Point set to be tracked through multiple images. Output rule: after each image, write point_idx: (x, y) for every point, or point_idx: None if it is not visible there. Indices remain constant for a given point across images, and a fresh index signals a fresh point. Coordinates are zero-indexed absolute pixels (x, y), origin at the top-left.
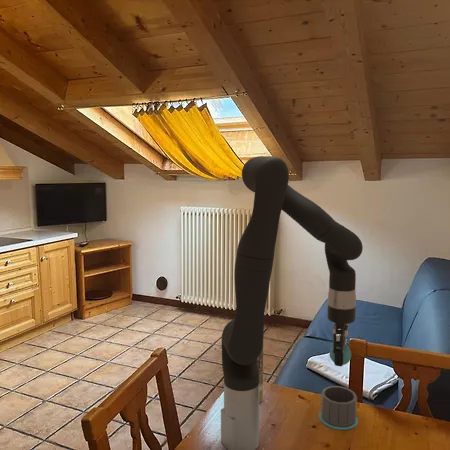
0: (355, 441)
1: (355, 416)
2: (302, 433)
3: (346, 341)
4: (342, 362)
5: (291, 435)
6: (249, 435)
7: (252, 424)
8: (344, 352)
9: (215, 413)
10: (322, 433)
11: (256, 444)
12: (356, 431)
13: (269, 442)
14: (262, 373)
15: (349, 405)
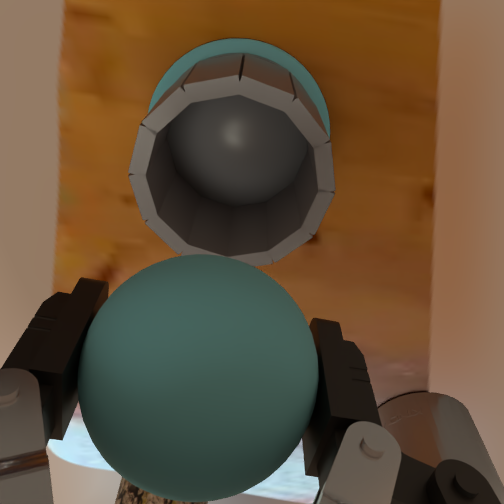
0: (409, 74)
1: (264, 62)
2: (361, 276)
3: (18, 391)
4: (341, 345)
5: (374, 309)
6: (490, 459)
7: (501, 487)
8: (297, 396)
9: (276, 488)
10: (357, 208)
11: (453, 407)
12: (332, 58)
13: (414, 366)
14: (163, 499)
15: (323, 129)
